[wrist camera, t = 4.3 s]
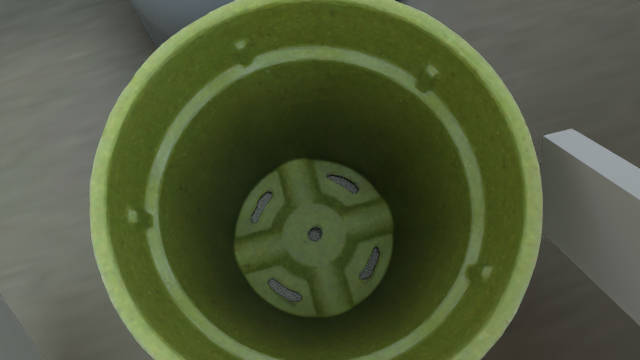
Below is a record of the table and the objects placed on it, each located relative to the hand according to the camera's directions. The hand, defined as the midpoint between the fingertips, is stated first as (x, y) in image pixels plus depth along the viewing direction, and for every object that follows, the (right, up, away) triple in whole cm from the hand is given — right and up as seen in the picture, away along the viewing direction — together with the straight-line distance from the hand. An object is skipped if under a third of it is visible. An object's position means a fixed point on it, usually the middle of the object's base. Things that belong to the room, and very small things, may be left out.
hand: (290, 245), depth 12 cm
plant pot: (0, -1, +7) cm, 7 cm away
